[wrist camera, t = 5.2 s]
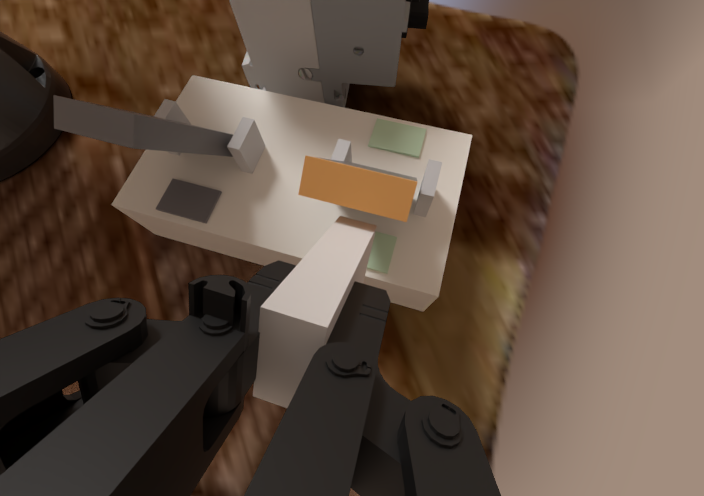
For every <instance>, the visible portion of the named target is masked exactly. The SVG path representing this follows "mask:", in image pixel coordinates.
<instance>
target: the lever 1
mask: <svg viewBox="0 0 704 496" xmlns="http://www.w3.org/2000/svg"><path fill="white" fill-rule="evenodd" d="M53 98H54V129H58V130H62V131H66V132H70V133H74V134H78V135H82V136H86V137H90V138H94V139H98V140H102V141H105V142H109V143H113V144H117V145H121V146H125V147H129V148H134V149H146V150H158V151H169V152H181V153H193V154H205V155H216V156H228V157H233V156H232V154H231V152H230V151H229V149H228V147H227V146H228V144H229V142H230V140H231V138H232V136H233V134H229V133H224V132H220V131H216V130H212V129H207V128H203V127H199V126H195V125H191V124H186V123H182V122H177V121H173V120H168V119H163V118H159V117H154V116H149V115H145V114H140V113H135V112H131V111H126V110H121V109H117V108H112V107H107V106H103V105H98V104H93V103H89V102H84V101H79V100H75V99H70V98H65V97H61V96H56V95H53Z"/></svg>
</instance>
